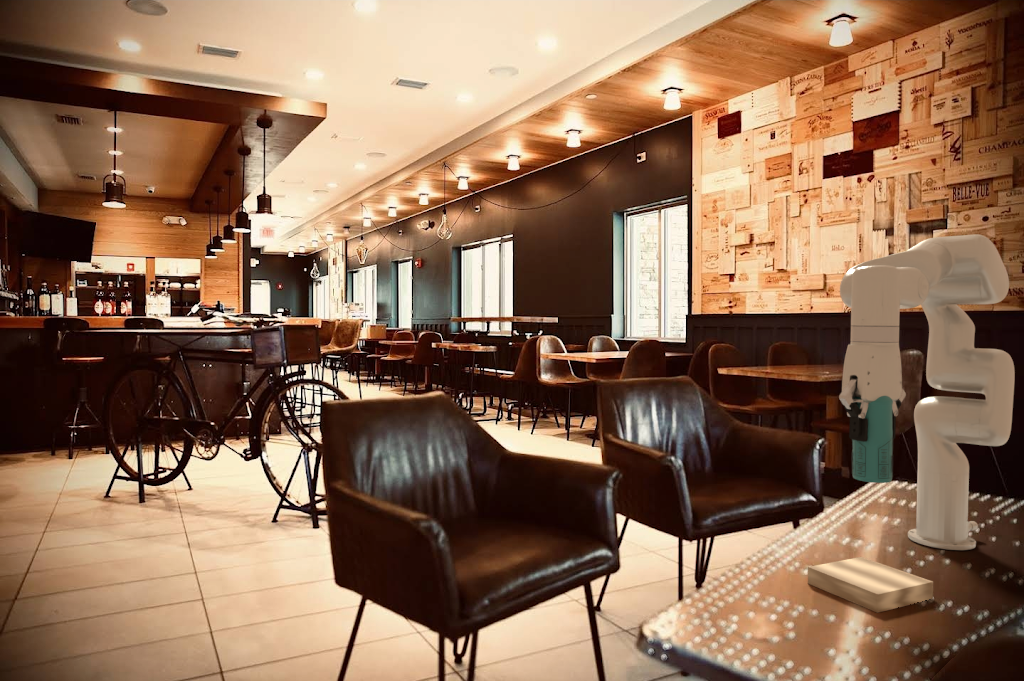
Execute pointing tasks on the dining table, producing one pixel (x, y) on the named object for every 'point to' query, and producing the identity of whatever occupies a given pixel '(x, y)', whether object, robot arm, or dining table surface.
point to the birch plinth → (870, 583)
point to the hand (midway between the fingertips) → (872, 438)
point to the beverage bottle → (875, 444)
